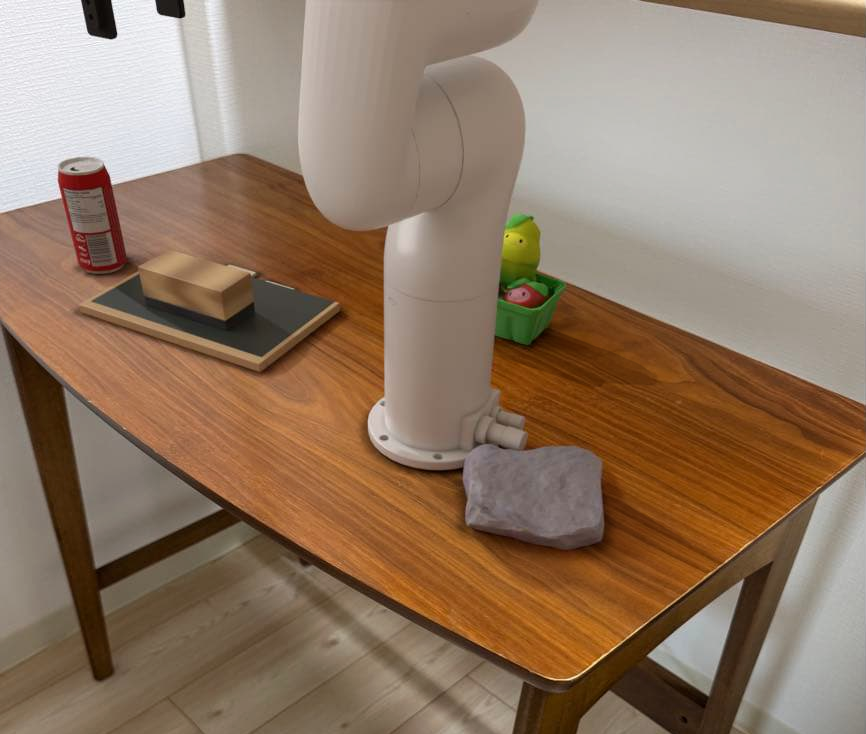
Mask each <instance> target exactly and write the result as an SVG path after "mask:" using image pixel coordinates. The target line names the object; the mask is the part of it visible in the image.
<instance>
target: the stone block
mask: <svg viewBox="0 0 866 734" xmlns="http://www.w3.org/2000/svg"><path fill="white" fill-rule="evenodd" d="M602 478H603V461H602V459H601V458H600V456H598V455H596V454H595V453H594V451H592V450H588V449H584V448H581V447H579V446H576V445H568V446H567V445H558V446H557V445H551V446H548V445H547V446H541V447H537V448H533V449H526V450H523V451H516V450H511V449H504V448H501V447H499V446H498V447H497V446H494V445H492V444H483V445H480V446H478V447H477V448H475V449H473V450H472V451H471V452H470V453H469V455H468V456H467V457H466V459H465V464H464V467H463V471H462V483H463V487H464V490H465V491H464V492H465V495H466V499H467V501H466V505H465V513H464V516H465V524H466V526H467V527H469V528H472V529H475V530H477V531H483V532H486V533H491V534H495V535H499V536H504V537H509V538H513V539H516V540H519V541H521V542H525V543H530V544H532V545H533V544H534V545H538V546H544V547H552V548H555V549H557V550H562V551H571V550H574V549H577V548H583V547H586V546H591V545H594V544H597V543H599V542H601V541H602V540H603V537H604V536H603V535H604V529H605V517H604V515H605V514H604V503H603V502H604V501H603V492H602Z"/></svg>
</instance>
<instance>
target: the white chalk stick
mask: <svg viewBox="0 0 866 734" xmlns="http://www.w3.org/2000/svg"><path fill="white" fill-rule="evenodd" d="M265 281H266V282H270V283H273V284H277V285H280V286H284V287H287V288H290V289H294V290H296V288H293V287H290V286H286V285H283V284H279V283H277V282H273V281H269V280H265Z"/></svg>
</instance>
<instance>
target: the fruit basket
mask: <svg viewBox="0 0 866 734" xmlns="http://www.w3.org/2000/svg"><path fill="white" fill-rule="evenodd" d="M534 219H535V217H534V216H533V215H529V214H528V215H526V214H523V213H515V214H513V216H512V217H510V219H509V220H508V223H506V226H505V233H504V241H503V250H502V260H501V271H500V280H499V289H498V301H497V313H496V325H495V336H494V337H498V338H501V339H505V340H510V341H513V342H515V343H519V344H521V345H524V346H529V345H531V343H532V341H534V340H536V339H537V338H538V337H540V335H541V334H542V333H543V331H544V330H545V329H547V328H548V327H549V324H550V323H551V320H552V318H553V315H554V312H555V311H556V308H557V305H558V303H559V301H560V299H561V298H560V297H561V296H562V295H563V293H564V291H565V289H566V287H567V284H566V282H565V281H563V280H560V279H557V278H553V277H550V276H547V275H544V274H540V273H537V270H538V267H539V265H540V261H541V246H540V240H541V230H540V228H539V226H538V225H537V224H536V222H535V221H534Z"/></svg>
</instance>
